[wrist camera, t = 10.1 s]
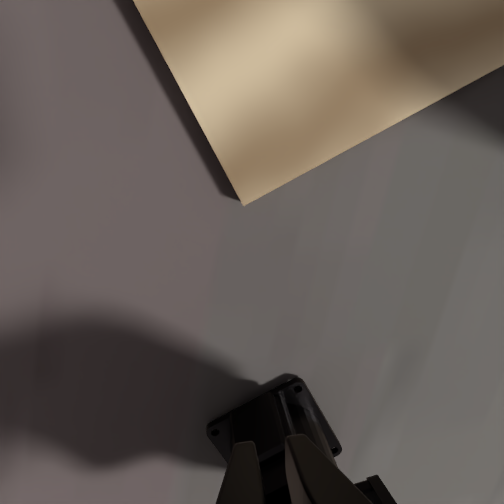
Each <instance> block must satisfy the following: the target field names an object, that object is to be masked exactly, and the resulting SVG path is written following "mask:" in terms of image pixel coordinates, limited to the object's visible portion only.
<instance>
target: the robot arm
mask: <svg viewBox="0 0 504 504" xmlns="http://www.w3.org/2000/svg"><path fill="white" fill-rule="evenodd" d="M296 386H300V387H299V388H297V389H295V387H296ZM214 429H218V430H217V431H212V430H214ZM207 436H208V437H209V439H210V440H211V442H212V443H213V444H214V446H215V447H216V448H217V450H218V451H219V452H220V454H221V455H222V456H223V458H224V459H225V460H226V462H227V463H228V466H227V469H226V472H225V476H224V479H223V482H222V485H221V488H220V492H219V495H218V498H217V501H216V504H397V503H396V502H395V500H394V499H393V497H392V496H391V494H390V493H389V491H388V490H387V488H386V487H385V485H384V484H383V482H382V481H381V479H380V478H379V476H378V475H374V476H371V477H368V478H367V480H365V481H362V482H359V483H355V484H353V483H352V482H351V481H350V480H349V479H348V478H347V477H346V476H345V475H344V474H343V473H342V472H341V471H340V470H339V469H338V467H337V464H336V462H335V459H334V457H336V456H338V455H339V454H340V453H341V451H342V447H341V445H340V443H339V441H338V439H337V437H336V436H335V434H334V432H333V430H332V429H331V427H330V425H329V424H328V422H327V420H326V418H325V417H324V415H323V413H322V411H321V410H320V408H319V406H318V405H317V403H316V401H315V399H314V398H313V396H312V394H311V392H310V391H309V389H308V387H307V386H306V384H305V382H304V381H303V380H302V379H301V378H294V379H292V380H290V381H288V382H286V383H284V384H282V385H280V386H278V387H277V388H275V389H273V390H271V391H269V392H267V393H265V394H263V395H261V396H259V397H257V398H256V399H254V400H252V401H250V402H248V403H246V404H244V405H242V406H240V407H238V408H236V409H235V410H233V411H231V412H229V413H227V414H225V415H223V416H221V417H219V418H217V419H215V420H214V421H212V422H210V423H209V424H208V425H207ZM334 447H335V448H334ZM332 448H333V449H332Z"/></svg>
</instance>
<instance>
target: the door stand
mask: <svg viewBox="0 0 504 504" xmlns="http://www.w3.org/2000/svg"><path fill="white" fill-rule="evenodd" d="M133 1H134V3H135V5H136V7H137V9H138V11H139V13H140V14H141V16H142V18H143V20H144V22H145V24H146V26H147V27H148V29H149V31H150V33H151V35H152V37H153V39H154V40H155V42H156V44H157V46H158V48H159V50H160V52H161V53H162V55H163V57H164V59H165V61H166V63H167V65H168V67H169V68H170V70H171V72H172V74H173V76H174V78H175V80H176V81H177V83H178V85H179V87H180V89H181V91H182V93H183V94H184V96H185V98H186V100H187V102H188V104H189V106H190V107H191V109H192V111H193V113H194V115H195V117H196V119H197V120H198V122H199V124H200V126H201V128H202V130H203V132H204V134H205V135H206V137H207V139H208V141H209V143H210V145H211V147H212V148H213V150H214V152H215V154H216V156H217V158H218V160H219V161H220V163H221V165H222V167H223V169H224V171H225V173H226V174H227V176H228V178H229V180H230V182H231V184H232V186H233V187H234V189H235V191H236V193H237V195H238V197H239V199H240V200H241V202H242V204H243V206H245V205H246V204H248V203H250V202H252V201H254V200H256V199H258V198H259V197H261V196H263V195H265V194H267V193H269V192H270V191H272V190H274V189H276V188H278V187H280V186H281V185H283V184H285V183H287V182H289V181H291V180H293V179H294V178H296V177H298V176H300V175H302V174H304V173H305V172H307V171H309V170H311V169H313V168H315V167H316V166H318V165H320V164H322V163H324V162H326V161H328V160H329V159H331V158H333V157H335V156H337V155H339V154H340V153H342V152H344V151H346V150H348V149H350V148H351V147H353V146H355V145H357V144H359V143H361V142H363V141H364V140H366V139H368V138H370V137H372V136H374V135H375V134H377V133H379V132H381V131H383V130H385V129H386V128H388V127H390V126H392V125H394V124H396V123H398V122H399V121H401V120H403V119H405V118H407V117H409V116H410V115H412V114H414V113H416V112H418V111H420V110H421V109H423V108H425V107H427V106H429V105H431V104H433V103H434V102H436V101H438V100H440V99H442V98H444V97H445V96H447V95H449V94H451V93H453V92H455V91H456V90H458V89H460V88H462V87H464V86H466V85H468V84H469V83H471V82H473V81H475V80H477V79H479V78H480V77H482V76H484V75H486V74H488V73H490V72H491V71H493V70H495V69H497V68H499V67H501V66H503V65H504V0H133Z"/></svg>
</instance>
